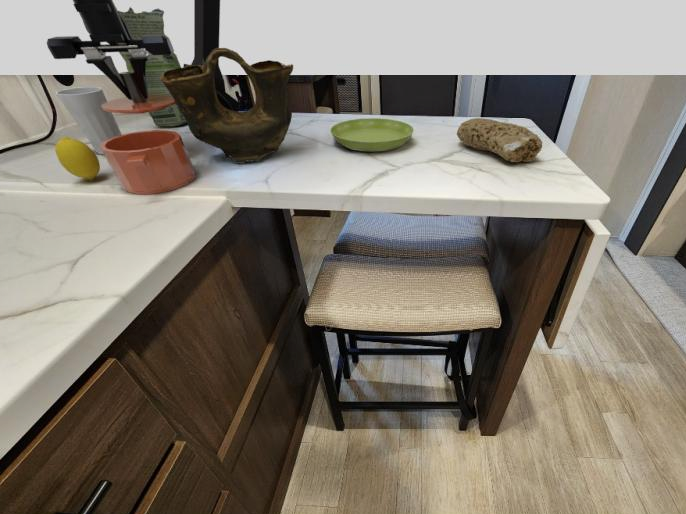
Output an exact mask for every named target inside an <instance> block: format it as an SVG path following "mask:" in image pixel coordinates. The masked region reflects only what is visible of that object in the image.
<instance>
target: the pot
mask: <svg viewBox="0 0 686 514" xmlns="http://www.w3.org/2000/svg"><path fill="white" fill-rule="evenodd" d="M99 147H100V149H101V150H102V152H103V154H102V155H103V156H104V157H105V159H106V160H107V162H108V164H109V165H110V169H111V170H112V171H113V173H114V175H115V176H116V178H117V180H118V181H119V183H120V185H121V186H122V187H123V189H124V190H125V192H128V193H130V194H135V195H155V194H162V193H165V192H171V191H173V190H177V189H180V188H182V187H185V186H188V185H189V184H191V182H193V181H194V180H195V179H196V177H197V173H196V169H195V167H194V165H193V162H192V160H191V157H190V155H189V152H188V151H187V148H186V145H185V143H184V140H183V139H182V136H181V134H180V133H178V132H177V131H173V130H165V129H152V130H141V131H134V132H129V133H123V134H122V135H120V136H116V137H113V138H110V139H108V140H106V141H104V142H103V143H102V144H101V145H100V146H99Z"/></svg>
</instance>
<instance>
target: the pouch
mask: <svg viewBox="0 0 686 514" xmlns="http://www.w3.org/2000/svg"><path fill="white" fill-rule="evenodd" d="M117 11H118V13H119V14H120V15H121V17H122V18H123V19H124V20H125V21H126V22H127V23H128V24H129V27H130V30H131V32H132V35H133V38H134V40H137V39H142V36H144V35H152V34H165V23H164V14H165V10H162V9H160V8H159V7H157V8H155V9H153V10H151V11H141V12H135V11H134V9H133V7H131V6H129V8H128V10H127V11H120V10H117ZM118 44H126V43H118ZM118 53H119V55H120V56H121V57H122V59H123V60H124V62H125V66H126V70H127V72H134V71H133V68H132V66H131V63H130V60H129V58H131V57H132V55H131V54H130V53H129V52H118ZM148 53H149V52H148ZM149 54H150V55H151V59H150V60H148V61H146V82H147V90H148V95H171V94H170V92H169V91H168V89H167V88H166V86H165V85H164V84H163V82H162V81H161V80H160V79H159V78H161V77H162V73H164V72H166V71H169V70H174V69H177V68H182V66H181V64H180V61H179V58H178V55H177V54H175V51H174V52H173V53H172V54H170V55H152V54H151V53H149ZM171 96H172V95H171ZM147 113H148V114H149V116H150V118H151V119H152V120H153V123H154V126H156V127H177V126H180V125H184V124H187V121H186V119H185V117H184V116H183V114H182V113H181V111H180V109H179V107H178V105H177V104H174V105H172V106H169V107H167V108H165V109H162V110H158V111H153V112H147Z"/></svg>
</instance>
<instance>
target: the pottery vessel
mask: <svg viewBox="0 0 686 514" xmlns="http://www.w3.org/2000/svg"><path fill="white" fill-rule="evenodd" d="M221 57H223V58H226V59H228V60H232V61H234V62H236V63H237V64H238V65H240V67H241V68H242V69H243V71H244V72H245V75H247V77H248V78H249V80H250V82H251V85H252V87H253V90H254V94H255V102H254V105H253V106H252V107H251V108H250V109H248V110H243V111H239V112H238V111H232V110H229V109H227V108H225V107H223V106H222V105H221V103H220V102H219V100H218V98H217V94H216V90H215V82H214V70H215V66H216V64H217V61H218V59H219V60H220V58H221ZM293 71H294V64H293V63H291V64H287V65H286V64H284V63H282V62H280V61H277V60H270V59H268V60H262V61H257V62H255V63H251V64H249V63H247V62H246V60H245V59H244V58H243V57H242V56H241V55H240V54H239V53H238V52H237V51H234V50H233V49H230V48H227V47H219V48H216V49H214V50H213V51H212V52H211V53H210V54H209V56H208V57H207V59H206V61H205V63H204V66H202V65H195V66H193V65H191V64H189V65H187V66H186V67H181V68H177V69H174V70H169V71H166V72H164V73H162V77H161V78H159V79H160V80H161V81H162V82H163V84H164V85H165V86H166V88H167V89H168V91H169V92H170V94H171V95H172V97H173V99H174V101H175V102H176V104H177V105H178V107H179V109H180V111H181V113H182V114H183V116H184V117H185V119H186V121H187V122H186V124H187V127H188V130H189V131H190V132H191V134H192V136H193V138H195V139H196V140H198V141H200V142H202V143H205V144H207V145H208V146H211V147H213V148H215V149H218V150H221V151H222V152H223V155H224V159H225V160H227V159H228V158H229V157H230V158H231V161H234V162H235V163H237V164H243V163H246V162H258V161H259V160H260V159H262V158H263V157H264V156H265V155H269V154H272V153H278V151H279V149H280V148H279V147H280V146H281V145H282V143H283V142H284V141H285V139H286V136H287V133H288V131H289V128H290V125H291V122H292V117H293V112H292V110H291V107H290V104H289V99H288V80H289V79H290V76H291V75H292V73H293Z"/></svg>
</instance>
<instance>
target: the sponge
mask: <svg viewBox="0 0 686 514" xmlns="http://www.w3.org/2000/svg"><path fill="white" fill-rule="evenodd" d="M456 136H457V138H458V139H459V141H460V142H462V143H463V144H465V145H467V146H469V147H470V148H471V147H472V148H473V149H477V150H481V151H484V152H491V153H492V152H493V153H495V154H496V155H498V156H500V157H502V158H503V159H504V160H505V161H507V162H511V163H520V162H523V163H530V162H532V161H533V160H535V158H537V156H538V154H539V153H540V152H541V151H542V148H543V141H542V139H541V138H540V137H539V136H538V134H536V133H534V132H533V131H532V130H530V129H529V128H527V127H525V126H522V125H517V124H515V123H508V122H503V121H498V120H495V119H490V118H481V117H477V118H475V117H474V118H470V119H468V120H465V121H464V122H462V123H460V125H459V126H458V128H457V131H456Z"/></svg>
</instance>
